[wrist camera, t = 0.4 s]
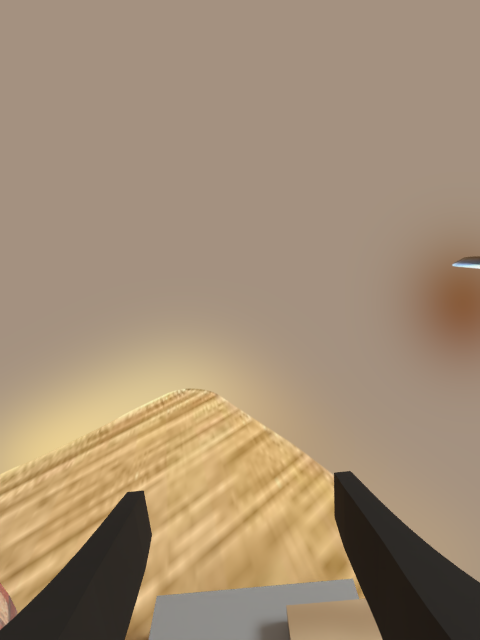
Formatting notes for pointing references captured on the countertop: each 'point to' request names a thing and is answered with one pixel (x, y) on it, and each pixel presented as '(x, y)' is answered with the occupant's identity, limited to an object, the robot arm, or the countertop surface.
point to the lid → (240, 611)
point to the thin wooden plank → (332, 621)
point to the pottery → (6, 608)
